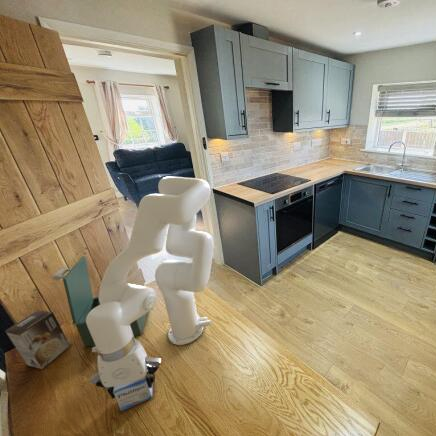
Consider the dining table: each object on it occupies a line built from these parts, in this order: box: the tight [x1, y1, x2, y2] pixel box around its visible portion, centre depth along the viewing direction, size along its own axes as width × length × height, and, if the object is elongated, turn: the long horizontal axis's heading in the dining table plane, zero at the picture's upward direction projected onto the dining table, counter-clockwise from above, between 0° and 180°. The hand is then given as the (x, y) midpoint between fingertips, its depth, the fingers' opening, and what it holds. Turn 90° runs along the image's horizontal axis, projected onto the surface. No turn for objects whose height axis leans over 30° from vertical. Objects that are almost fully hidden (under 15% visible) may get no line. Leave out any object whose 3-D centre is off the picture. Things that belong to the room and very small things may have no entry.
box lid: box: [51, 255, 94, 325], centre depth 82 cm, size 18×14×6 cm
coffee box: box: [4, 309, 71, 370], centre depth 78 cm, size 9×6×16 cm
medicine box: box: [113, 370, 154, 412], centre depth 68 cm, size 8×4×9 cm, turn 117°
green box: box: [75, 296, 149, 348], centre depth 91 cm, size 18×14×11 cm
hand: (133, 387), depth 68 cm, fingers closed on medicine box, 8 cm apart
